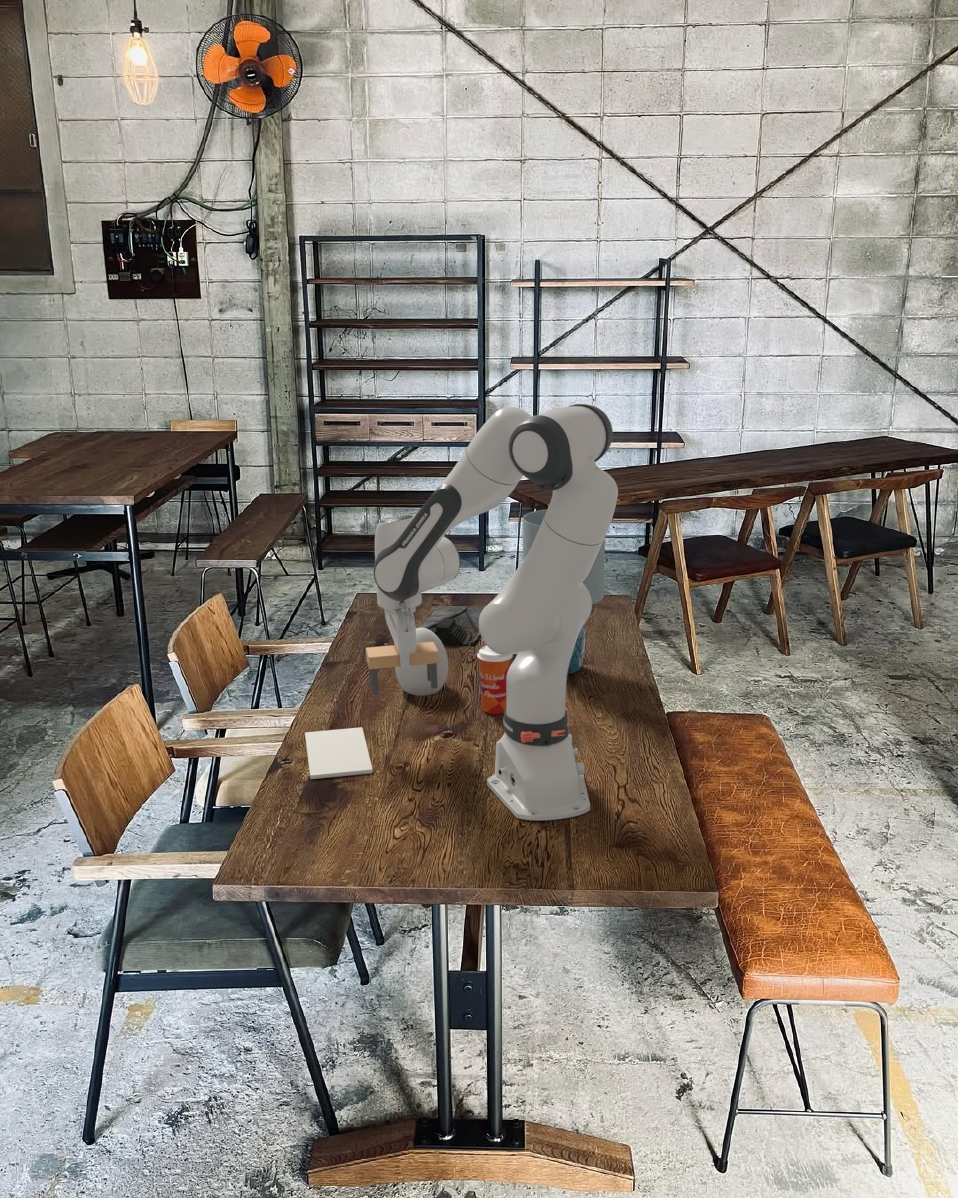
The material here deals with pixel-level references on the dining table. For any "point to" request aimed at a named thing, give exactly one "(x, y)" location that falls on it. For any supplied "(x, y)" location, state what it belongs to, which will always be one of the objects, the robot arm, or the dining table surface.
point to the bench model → (391, 658)
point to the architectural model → (455, 624)
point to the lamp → (592, 582)
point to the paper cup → (493, 679)
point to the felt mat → (337, 753)
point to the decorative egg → (424, 668)
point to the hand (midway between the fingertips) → (402, 660)
